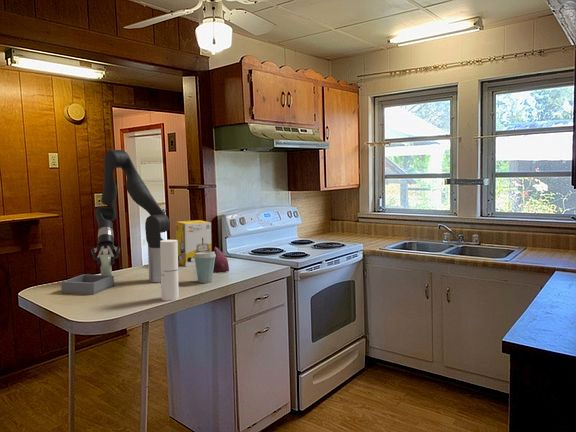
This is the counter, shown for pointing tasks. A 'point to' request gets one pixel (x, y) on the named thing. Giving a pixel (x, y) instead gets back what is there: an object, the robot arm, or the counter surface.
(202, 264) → the disposable coffee cup
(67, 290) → the bin
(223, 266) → the vegetable
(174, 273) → the cylindrical container
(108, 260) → the cruet
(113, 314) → the counter surface
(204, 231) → the packaging box
